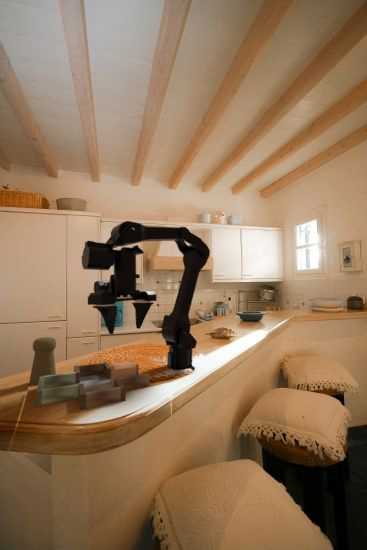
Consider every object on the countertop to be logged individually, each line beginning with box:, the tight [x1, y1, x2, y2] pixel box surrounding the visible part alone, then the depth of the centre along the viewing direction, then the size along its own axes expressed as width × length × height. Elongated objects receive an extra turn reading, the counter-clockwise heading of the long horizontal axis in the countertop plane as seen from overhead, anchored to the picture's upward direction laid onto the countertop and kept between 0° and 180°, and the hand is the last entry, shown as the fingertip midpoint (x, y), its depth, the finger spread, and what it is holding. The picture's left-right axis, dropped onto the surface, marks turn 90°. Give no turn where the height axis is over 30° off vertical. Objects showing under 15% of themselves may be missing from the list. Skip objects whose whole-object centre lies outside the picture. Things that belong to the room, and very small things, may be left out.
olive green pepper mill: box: [28, 336, 57, 387], centre depth 62 cm, size 6×6×11 cm
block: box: [110, 361, 136, 385], centre depth 60 cm, size 5×5×4 cm
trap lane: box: [35, 361, 151, 410], centre depth 57 cm, size 23×21×3 cm
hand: (125, 331), depth 64 cm, fingers open, 9 cm apart
